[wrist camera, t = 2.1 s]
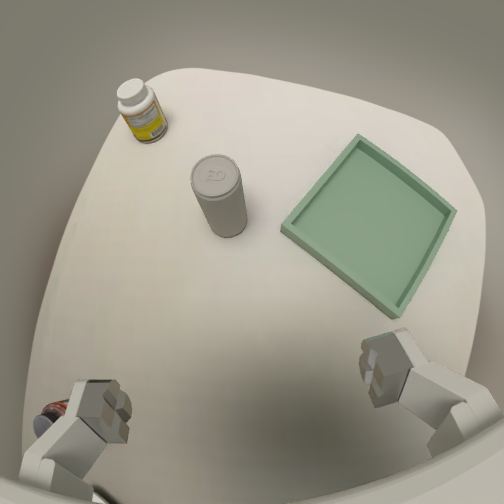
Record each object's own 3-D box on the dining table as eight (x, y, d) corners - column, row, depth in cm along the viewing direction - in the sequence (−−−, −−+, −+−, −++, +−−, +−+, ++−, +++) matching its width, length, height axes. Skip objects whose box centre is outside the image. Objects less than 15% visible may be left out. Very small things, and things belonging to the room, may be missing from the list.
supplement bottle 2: (140, 118, 45) (118, 77, 35) (171, 116, 45) (153, 71, 35) (131, 145, 44) (105, 105, 34) (164, 144, 43) (142, 100, 33)
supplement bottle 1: (92, 385, 34) (40, 395, 23) (121, 419, 33) (75, 441, 22) (71, 409, 33) (19, 422, 22) (98, 441, 32) (51, 465, 21)
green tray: (448, 217, 38) (457, 210, 36) (391, 319, 35) (399, 317, 33) (353, 143, 42) (357, 133, 39) (280, 231, 39) (281, 224, 36)
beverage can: (212, 202, 40) (194, 152, 29) (249, 205, 40) (243, 154, 28) (207, 237, 39) (184, 196, 27) (245, 240, 39) (236, 199, 27)
